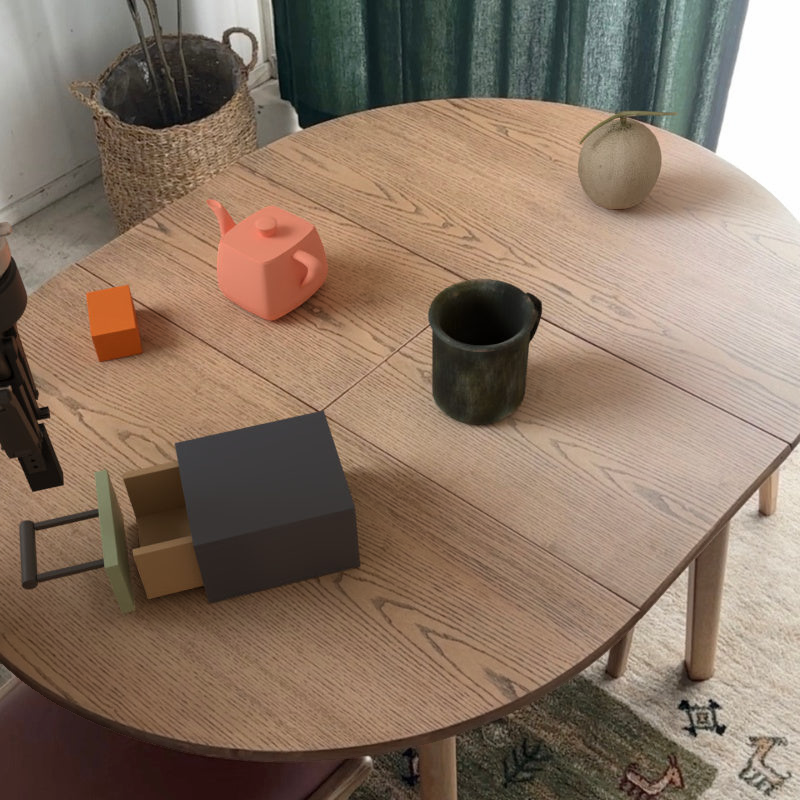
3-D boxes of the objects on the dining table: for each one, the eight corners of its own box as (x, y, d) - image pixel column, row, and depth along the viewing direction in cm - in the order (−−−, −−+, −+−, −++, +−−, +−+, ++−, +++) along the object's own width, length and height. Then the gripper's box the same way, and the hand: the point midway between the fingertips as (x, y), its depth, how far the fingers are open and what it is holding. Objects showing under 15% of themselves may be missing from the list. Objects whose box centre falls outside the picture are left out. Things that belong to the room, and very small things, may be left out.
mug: (407, 394, 117) (405, 312, 109) (498, 332, 124) (503, 250, 115) (478, 447, 112) (482, 365, 103) (569, 378, 118) (579, 296, 110)
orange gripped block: (99, 362, 122) (91, 336, 119) (93, 318, 128) (85, 292, 125) (142, 353, 123) (135, 327, 120) (135, 309, 128) (128, 284, 126)
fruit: (556, 187, 144) (566, 87, 133) (634, 173, 146) (650, 73, 135) (585, 232, 137) (598, 130, 126) (667, 216, 139) (687, 115, 128)
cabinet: (209, 604, 99) (193, 545, 92) (190, 502, 107) (174, 442, 101) (360, 566, 101) (355, 507, 95) (330, 470, 110) (323, 410, 103)
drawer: (36, 635, 96) (13, 589, 91) (31, 537, 104) (10, 490, 98) (266, 578, 100) (257, 531, 94) (245, 488, 107) (235, 440, 102)
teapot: (293, 343, 124) (283, 274, 116) (186, 284, 132) (171, 215, 124) (356, 292, 130) (351, 223, 122) (251, 238, 138) (240, 170, 130)
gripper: (15, 319, 72) (96, 530, 89) (13, 210, 81) (86, 421, 98) (-100, 341, 71) (4, 550, 88) (-90, 227, 79) (3, 438, 96)
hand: (47, 482), depth 93 cm, fingers closed
